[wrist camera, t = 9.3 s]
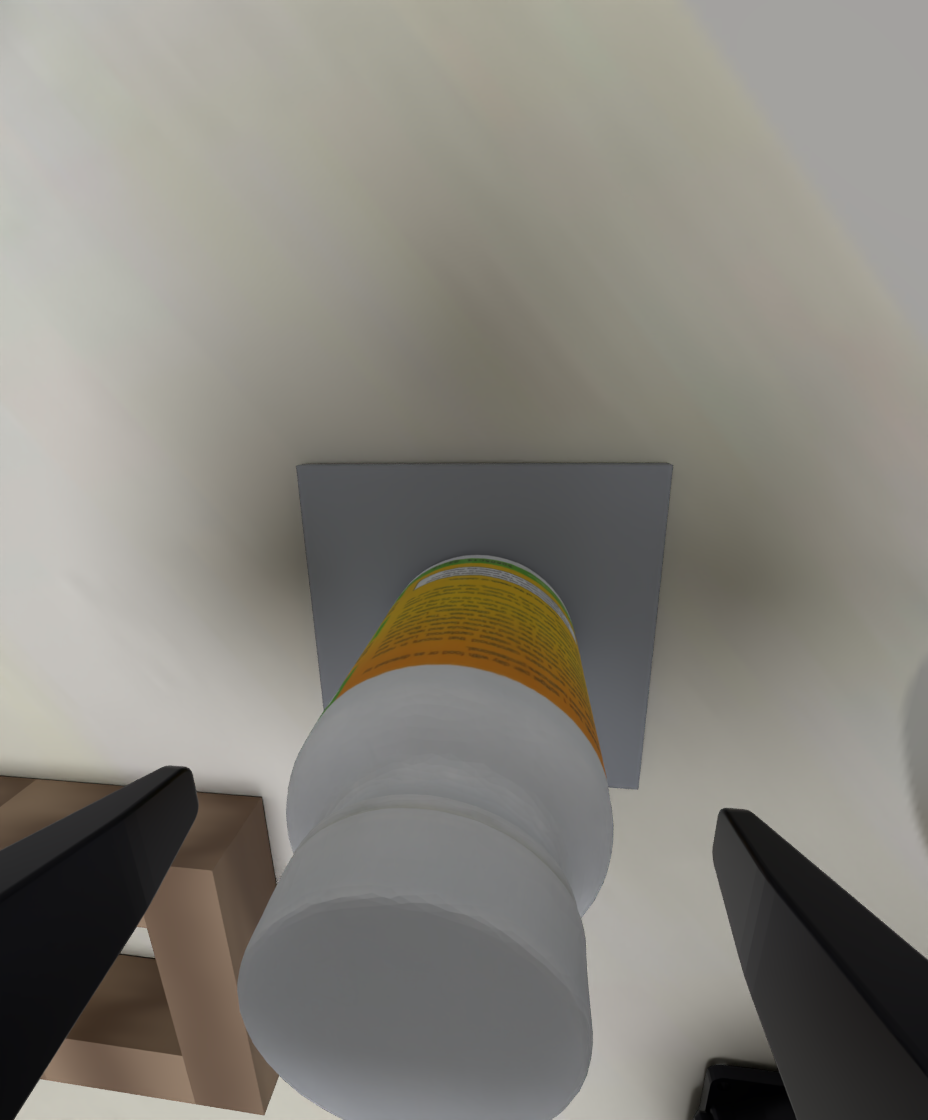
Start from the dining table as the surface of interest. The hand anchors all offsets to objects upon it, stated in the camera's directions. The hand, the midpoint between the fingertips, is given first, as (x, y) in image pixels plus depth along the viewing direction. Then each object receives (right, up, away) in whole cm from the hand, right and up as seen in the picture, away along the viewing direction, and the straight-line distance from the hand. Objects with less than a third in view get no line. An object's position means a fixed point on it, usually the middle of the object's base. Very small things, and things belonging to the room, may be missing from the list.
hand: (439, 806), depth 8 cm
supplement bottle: (+1, +2, +6) cm, 7 cm away
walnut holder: (-13, -10, +12) cm, 20 cm away
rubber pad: (+1, +2, +7) cm, 7 cm away
